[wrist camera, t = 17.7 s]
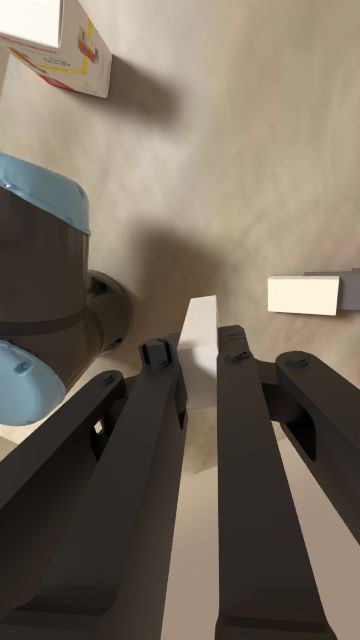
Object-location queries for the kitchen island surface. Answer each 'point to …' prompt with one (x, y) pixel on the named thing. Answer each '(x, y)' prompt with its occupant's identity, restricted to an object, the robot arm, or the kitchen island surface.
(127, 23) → the kitchen island surface
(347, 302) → the domino
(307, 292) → the domino ivory
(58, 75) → the ink box
